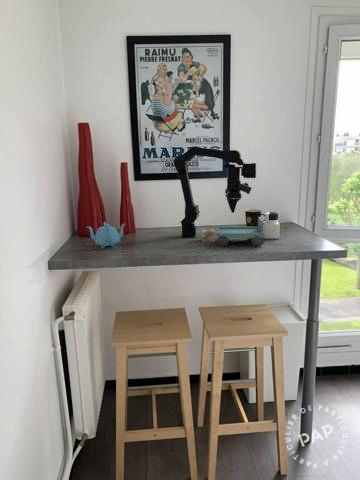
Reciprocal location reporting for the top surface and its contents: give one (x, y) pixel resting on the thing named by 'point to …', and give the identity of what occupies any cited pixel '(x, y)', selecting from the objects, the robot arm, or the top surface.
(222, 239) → the teal toy wagon
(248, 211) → the coffee mug
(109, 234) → the teapot
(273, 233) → the medicine bottle
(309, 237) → the top surface
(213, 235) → the block
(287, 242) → the top surface
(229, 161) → the robot arm
